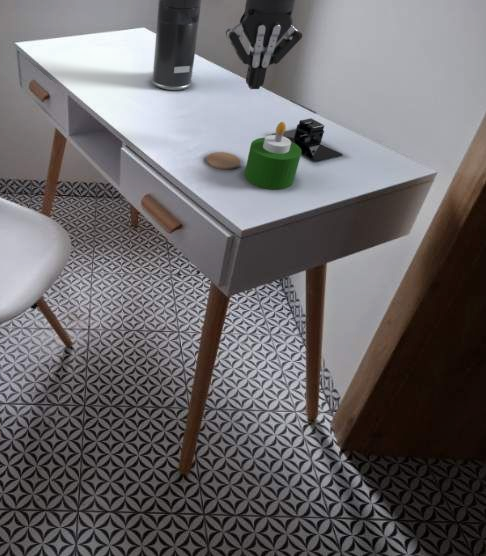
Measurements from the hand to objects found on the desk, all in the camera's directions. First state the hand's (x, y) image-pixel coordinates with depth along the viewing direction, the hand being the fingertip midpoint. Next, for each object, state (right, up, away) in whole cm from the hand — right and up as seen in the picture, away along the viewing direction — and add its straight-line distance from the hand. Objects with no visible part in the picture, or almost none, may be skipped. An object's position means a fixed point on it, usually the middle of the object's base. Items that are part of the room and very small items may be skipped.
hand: (253, 87), depth 91 cm
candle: (+2, -16, -2) cm, 17 cm away
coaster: (-5, -13, +2) cm, 14 cm away
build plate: (+12, -8, +9) cm, 17 cm away
